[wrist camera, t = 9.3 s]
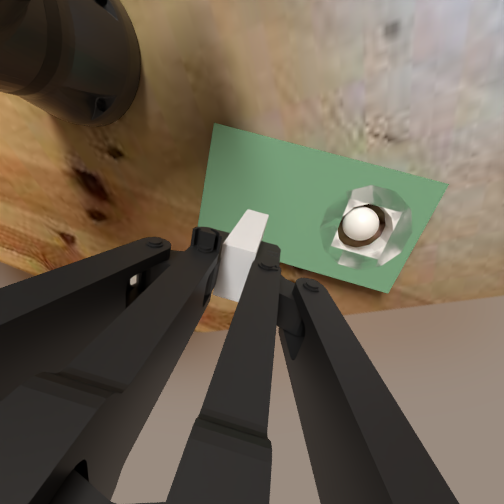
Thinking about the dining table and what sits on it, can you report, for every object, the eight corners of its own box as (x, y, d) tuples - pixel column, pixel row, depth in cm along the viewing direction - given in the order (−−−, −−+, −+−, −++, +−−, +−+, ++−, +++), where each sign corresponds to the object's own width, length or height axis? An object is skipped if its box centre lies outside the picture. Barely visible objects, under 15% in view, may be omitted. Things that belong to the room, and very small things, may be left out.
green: (202, 232, 35) (195, 237, 32) (220, 125, 29) (214, 122, 27) (381, 284, 33) (388, 293, 31) (436, 181, 28) (448, 184, 25)
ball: (335, 227, 28) (372, 226, 25) (341, 201, 30) (378, 197, 27) (344, 247, 31) (379, 247, 28) (350, 222, 32) (384, 219, 30)
